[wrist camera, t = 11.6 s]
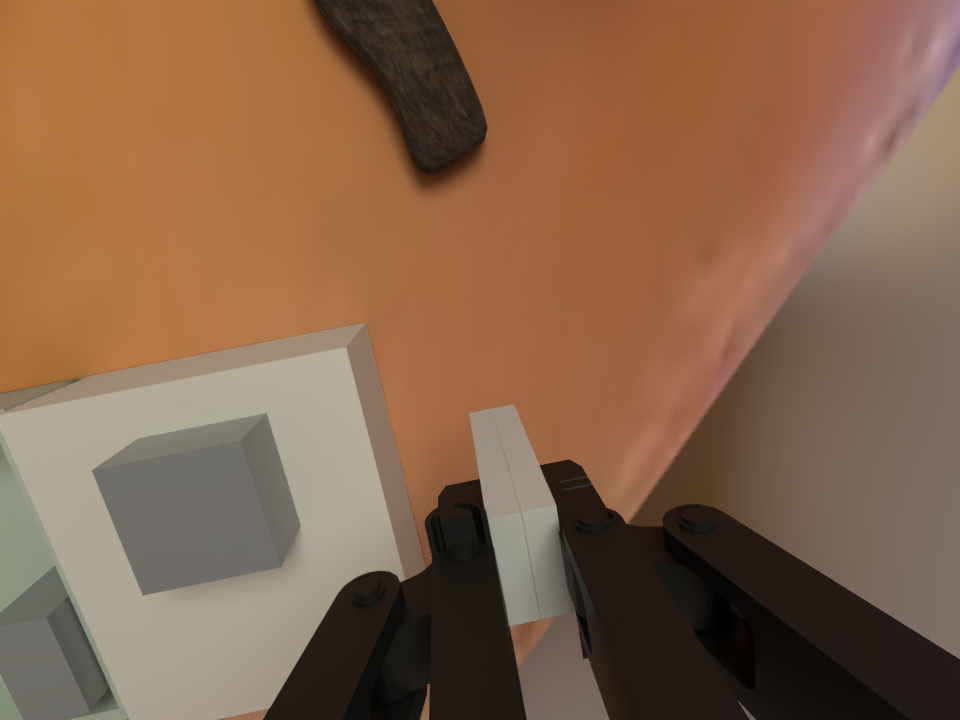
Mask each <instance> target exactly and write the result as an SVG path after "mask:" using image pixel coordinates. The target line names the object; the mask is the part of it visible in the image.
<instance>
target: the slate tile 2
mask: <svg viewBox="0 0 960 720" xmlns="http://www.w3.org/2000/svg"><path fill="white" fill-rule="evenodd" d="M92 472H93V475H94V477H95V480H96V482H97V485H98V487H99V490H100V492H101V495H102V497H103V500H104V502H105V504H106V507H107V509H108V512H109V514H110V517H111V519H112V522H113V524H114V527H115V529H116V531H117V534H118V536H119V539H120V541H121V544H122V546H123V549H124V551H125V554H126V556H127V558H128V561H129V563H130V566H131V568H132V571H133V573H134V576H135V578H136V581H137V583H138V585H139V588H140V590H141V593H142V595H143V596H144V595H149V594H153V593H158V592H163V591H168V590H173V589H178V588H183V587H187V586H192V585H197V584H202V583H207V582H212V581H217V580H221V579H226V578H231V577H236V576H241V575H246V574H250V573H255V572H260V571H265V570H270V569H275V568H280V567H281V566H282V564H283V562H284V560H285V558H286V555H287V553H288V551H289V549H290V547H291V545H292V543H293V541H294V539H295V536H296V534H297V532H298V530H299V528H300V526H301V524H300V521H299V518H298V515H297V511H296V508H295V505H294V501H293V498H292V495H291V492H290V488H289V485H288V482H287V478H286V475H285V472H284V469H283V465H282V462H281V459H280V456H279V452H278V449H277V446H276V442H275V439H274V436H273V433H272V429H271V426H270V423H269V419H268V416H267V413H264V414H259V415H254V416H249V417H244V418H239V419H234V420H229V421H224V422H219V423H213V424H208V425H203V426H198V427H193V428H188V429H183V430H178V431H173V432H168V433H163V434H158V435H153V436H148V437H143V438H138V439H137V440H135V441H134V442H132V443H131V444H129V445H128V446H126V447H125V448H123V449H122V450H121V451H119V452H118V453H116V454H115V455H113V456H112V457H110V458H109V459H107V460H106V461H105V462H103V463H102V464H100V465H99V466H97V467H96V468H94V469H93V470H92Z"/></svg>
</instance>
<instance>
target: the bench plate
mask: <svg viewBox="0 0 960 720" xmlns="http://www.w3.org/2000/svg"><path fill="white" fill-rule="evenodd" d="M264 413H267V416H268V419H269V423H270V426H271V429H272V433H273V436H274V439H275V442H276V446H277V449H278V452H279V456H280V459H281V462H282V465H283V469H284V472H285V475H286V478H287V482H288V485H289V488H290V492H291V495H292V498H293V501H294V505H295V508H296V511H297V515H298V518H299V521H300V524H301V526H300V528H299V530H298V532H297V534H296V536H295V539H294V541H293V543H292V545H291V547H290V549H289V551H288V553H287V555H286V558H285V560H284V562H283V564H282V566H281V567H280V568H275V569H270V570H265V571H260V572H255V573H250V574H246V575H241V576H236V577H231V578H226V579H221V580H217V581H212V582H207V583H202V584H197V585H192V586H187V587H183V588H178V589H173V590H168V591H163V592H158V593H153V594H149V595H144V596H143V595H142V593H141V590H140V588H139V585H138V583H137V581H136V578H135V576H134V573H133V571H132V568H131V566H130V563H129V561H128V558H127V556H126V554H125V551H124V549H123V546H122V544H121V541H120V539H119V536H118V534H117V531H116V529H115V527H114V524H113V522H112V519H111V517H110V514H109V512H108V509H107V507H106V504H105V502H104V500H103V497H102V495H101V492H100V490H99V487H98V485H97V482H96V480H95V477H94V475H93V472H92V470H93V469H94V468H96V467H97V466H99V465H100V464H102V463H103V462H105V461H106V460H107V459H109V458H110V457H112V456H113V455H115V454H116V453H118V452H119V451H121V450H122V449H123V448H125V447H126V446H128V445H129V444H131V443H132V442H134V441H135V440H137V439H138V438H143V437H148V436H153V435H158V434H163V433H168V432H173V431H178V430H183V429H188V428H193V427H198V426H203V425H208V424H213V423H219V422H224V421H229V420H234V419H239V418H244V417H249V416H254V415H259V414H264ZM0 430H1V432H2V434H3V437H4V439H5V441H6V443H7V446H8V448H9V450H10V452H11V455H12V457H13V459H14V461H15V464H16V466H17V468H18V470H19V473H20V475H21V477H22V479H23V481H24V484H25V486H26V488H27V490H28V493H29V495H30V497H31V499H32V502H33V504H34V506H35V508H36V511H37V513H38V515H39V517H40V520H41V522H42V524H43V526H44V529H45V531H46V533H47V535H48V538H49V540H50V542H51V544H52V547H53V549H54V551H55V553H56V556H57V558H58V560H59V562H60V564H61V567H62V569H63V571H64V573H65V576H66V578H67V580H68V582H69V585H70V587H71V589H72V591H73V594H74V596H75V598H76V600H77V603H78V605H79V607H80V609H81V612H82V614H83V616H84V618H85V621H86V623H87V625H88V627H89V630H90V632H91V634H92V636H93V638H94V641H95V643H96V645H97V647H98V650H99V652H100V654H101V656H102V659H103V661H104V663H105V665H106V668H107V670H108V672H109V674H110V677H111V679H112V681H113V683H114V686H115V688H116V690H117V692H118V695H119V697H120V699H121V701H122V704H123V706H124V708H125V710H126V712H127V715H128V717H129V719H130V720H217V719H222V718H227V717H231V716H236V715H241V714H245V713H250V712H255V711H259V710H264V709H269V708H270V707H271V705H272V704H273V702H274V700H275V699H276V697H277V695H278V693H279V692H280V690H281V688H282V687H283V685H284V683H285V682H286V680H287V678H288V677H289V675H290V673H291V672H292V670H293V668H294V667H295V665H296V663H297V661H298V660H299V658H300V656H301V655H302V653H303V651H304V650H305V648H306V646H307V645H308V643H309V641H310V640H311V638H312V636H313V635H314V633H315V631H316V629H317V628H318V626H319V624H320V623H321V621H322V619H323V618H324V616H325V614H326V613H327V611H328V609H329V608H330V606H331V604H332V603H333V601H334V599H335V597H336V596H337V594H338V593H339V592H340V590H341V589H342V588H343V587H344V586H345V585H346V584H347V583H349V582H350V581H351V580H353V579H354V578H356V577H358V576H360V575H363V574H365V573H368V572H374V571H390V572H391V573H393V574H395V575H397V577H398V579H399V581H400V582H402V581H404V580H406V579H409V578H411V577H413V576H415V575H417V574H419V573H421V572H422V571H423V570H425V569H426V568H425V564H424V560H423V555H422V551H421V547H420V543H419V539H418V535H417V531H416V527H415V522H414V518H413V514H412V510H411V506H410V502H409V498H408V494H407V489H406V485H405V481H404V477H403V473H402V469H401V465H400V461H399V456H398V452H397V448H396V444H395V440H394V436H393V432H392V428H391V423H390V419H389V415H388V411H387V407H386V403H385V399H384V395H383V390H382V386H381V382H380V378H379V374H378V370H377V366H376V362H375V357H374V353H373V349H372V345H371V341H370V337H369V333H368V329H367V324H366V323H361V324H356V325H350V326H345V327H340V328H335V329H330V330H325V331H320V332H314V333H309V334H304V335H299V336H294V337H289V338H283V339H278V340H273V341H268V342H263V343H258V344H253V345H247V346H242V347H237V348H232V349H227V350H222V351H216V352H211V353H206V354H201V355H196V356H191V357H186V358H180V359H175V360H170V361H165V362H160V363H155V364H149V365H144V366H139V367H134V368H129V369H124V370H119V371H113V372H108V373H103V374H98V375H93V376H89V377H87V378H84V379H82V380H79V381H77V382H75V383H72V384H70V385H67V386H65V387H63V388H60V389H58V390H55V391H53V392H51V393H48V394H46V395H43V396H41V397H38V398H36V399H34V400H31V401H29V402H26V403H24V404H22V405H19V406H17V407H14V408H12V409H10V410H7V411H5V412H2V413H0Z"/></svg>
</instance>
